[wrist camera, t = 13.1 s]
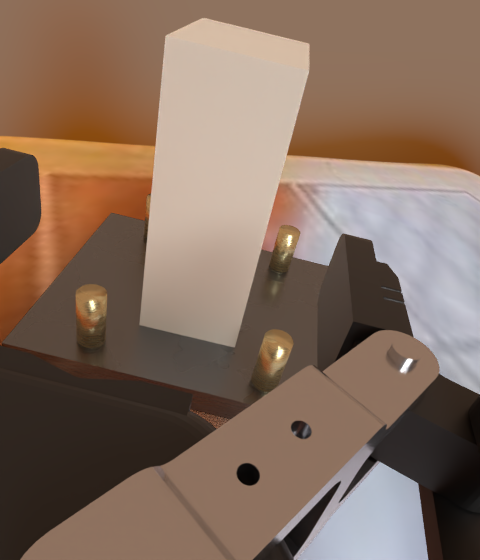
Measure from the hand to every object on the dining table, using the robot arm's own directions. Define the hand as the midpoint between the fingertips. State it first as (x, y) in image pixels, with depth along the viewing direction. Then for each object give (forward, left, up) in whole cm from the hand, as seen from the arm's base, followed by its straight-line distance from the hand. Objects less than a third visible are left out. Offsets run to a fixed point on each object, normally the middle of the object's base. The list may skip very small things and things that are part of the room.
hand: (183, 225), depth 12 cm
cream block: (0, -8, -8) cm, 12 cm away
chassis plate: (0, -8, -10) cm, 13 cm away
